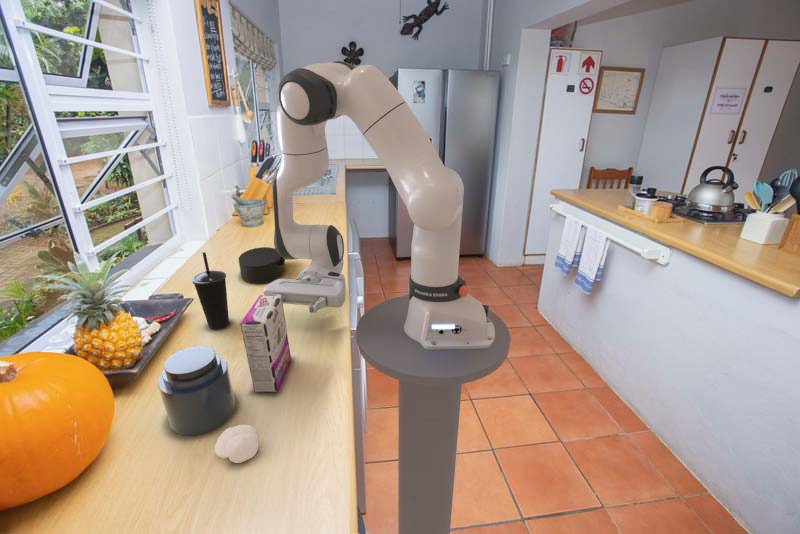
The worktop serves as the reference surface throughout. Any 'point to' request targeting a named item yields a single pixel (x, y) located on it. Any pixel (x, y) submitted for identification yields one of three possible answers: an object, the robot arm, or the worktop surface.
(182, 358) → the jar
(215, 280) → the drinking cup
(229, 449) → the dumpling
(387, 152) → the robot arm
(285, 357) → the candy bar box
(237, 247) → the worktop surface
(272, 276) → the black round tin
